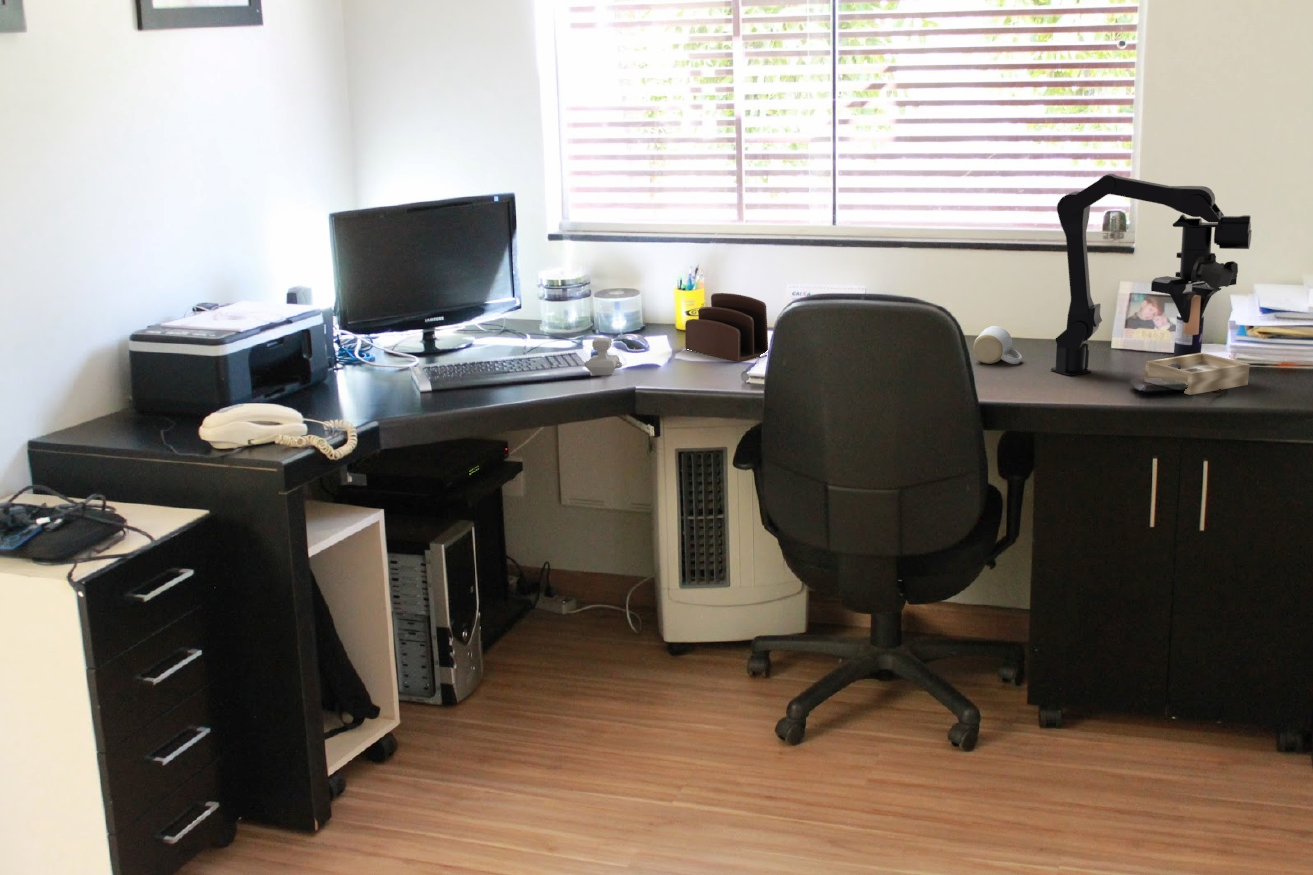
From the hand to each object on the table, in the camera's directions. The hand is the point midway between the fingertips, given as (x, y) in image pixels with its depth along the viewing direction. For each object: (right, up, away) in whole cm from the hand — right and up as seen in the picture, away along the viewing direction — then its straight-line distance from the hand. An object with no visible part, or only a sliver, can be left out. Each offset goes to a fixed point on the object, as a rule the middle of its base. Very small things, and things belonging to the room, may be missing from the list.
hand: (1191, 321), depth 279 cm
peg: (0, -2, +1) cm, 2 cm away
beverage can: (+7, -8, +19) cm, 22 cm away
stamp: (-126, -10, +28) cm, 129 cm away
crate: (+2, -13, +2) cm, 13 cm away
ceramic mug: (-34, -7, +27) cm, 44 cm away
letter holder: (-96, -4, +45) cm, 106 cm away
